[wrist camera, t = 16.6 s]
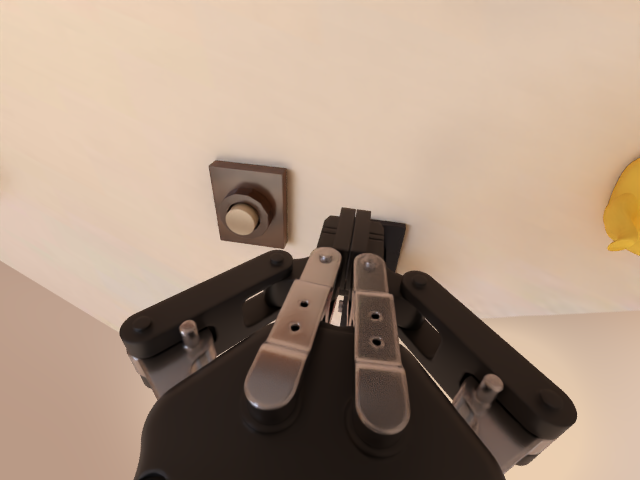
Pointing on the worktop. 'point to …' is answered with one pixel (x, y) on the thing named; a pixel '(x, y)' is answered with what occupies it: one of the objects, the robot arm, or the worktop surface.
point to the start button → (242, 219)
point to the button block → (251, 200)
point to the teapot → (625, 211)
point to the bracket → (391, 255)
